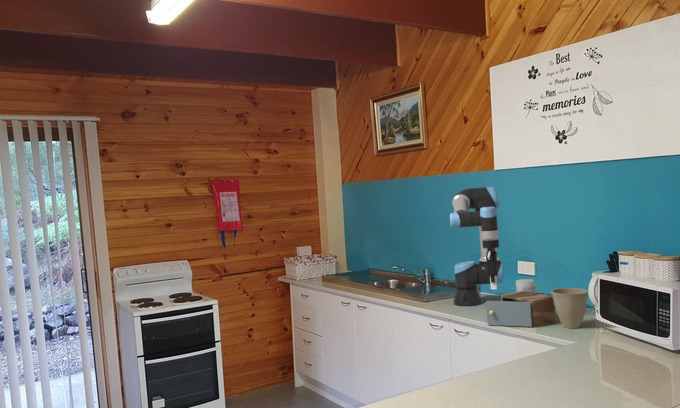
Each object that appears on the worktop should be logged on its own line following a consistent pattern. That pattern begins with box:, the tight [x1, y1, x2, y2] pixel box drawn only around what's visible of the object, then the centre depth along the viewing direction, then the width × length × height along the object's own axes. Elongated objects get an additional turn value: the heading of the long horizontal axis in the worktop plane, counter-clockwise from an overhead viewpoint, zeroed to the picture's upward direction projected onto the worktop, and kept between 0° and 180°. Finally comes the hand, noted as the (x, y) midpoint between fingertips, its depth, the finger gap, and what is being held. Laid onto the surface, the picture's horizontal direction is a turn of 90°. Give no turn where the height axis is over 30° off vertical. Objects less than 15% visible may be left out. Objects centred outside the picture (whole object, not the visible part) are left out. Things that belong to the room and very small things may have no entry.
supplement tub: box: [515, 278, 537, 293], centre depth 279 cm, size 10×10×15 cm
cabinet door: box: [485, 300, 533, 328], centre depth 246 cm, size 20×3×11 cm, turn 62°
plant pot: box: [551, 287, 589, 329], centre depth 239 cm, size 15×15×16 cm
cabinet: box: [500, 291, 557, 328], centre depth 254 cm, size 20×14×12 cm
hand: (494, 289), depth 253 cm, fingers closed
